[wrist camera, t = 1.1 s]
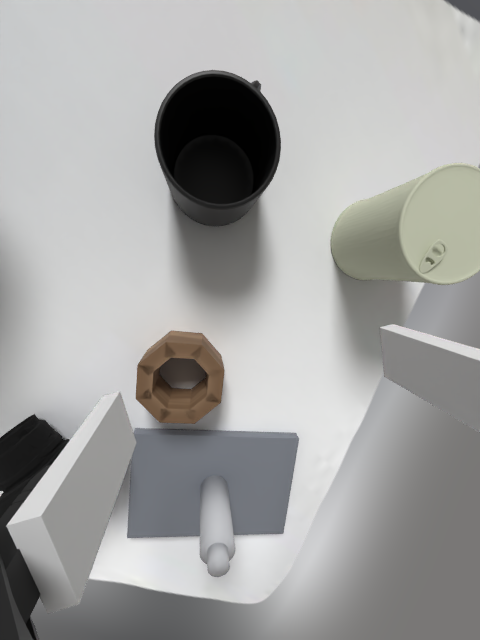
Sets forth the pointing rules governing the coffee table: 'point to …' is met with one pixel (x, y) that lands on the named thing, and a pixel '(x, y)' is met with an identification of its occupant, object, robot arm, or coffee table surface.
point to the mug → (217, 145)
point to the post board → (198, 460)
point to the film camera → (26, 456)
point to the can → (414, 230)
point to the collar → (175, 401)
